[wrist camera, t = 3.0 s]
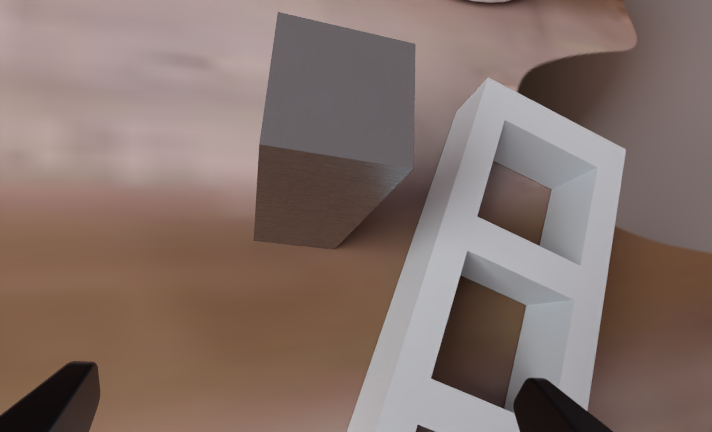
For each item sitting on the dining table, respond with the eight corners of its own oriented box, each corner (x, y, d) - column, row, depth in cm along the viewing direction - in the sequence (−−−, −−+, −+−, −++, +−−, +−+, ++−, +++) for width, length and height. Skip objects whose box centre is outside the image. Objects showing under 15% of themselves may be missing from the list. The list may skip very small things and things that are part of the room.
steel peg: (334, 249, 23) (413, 169, 12) (253, 240, 22) (259, 144, 11) (339, 176, 25) (415, 43, 14) (263, 165, 24) (278, 12, 13)
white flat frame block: (483, 660, 20) (539, 737, 16) (290, 596, 18) (301, 662, 15) (578, 173, 29) (625, 149, 26) (456, 111, 28) (488, 77, 24)
